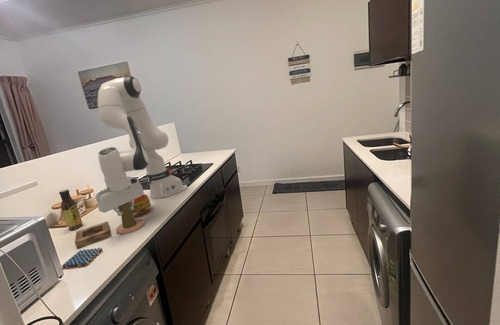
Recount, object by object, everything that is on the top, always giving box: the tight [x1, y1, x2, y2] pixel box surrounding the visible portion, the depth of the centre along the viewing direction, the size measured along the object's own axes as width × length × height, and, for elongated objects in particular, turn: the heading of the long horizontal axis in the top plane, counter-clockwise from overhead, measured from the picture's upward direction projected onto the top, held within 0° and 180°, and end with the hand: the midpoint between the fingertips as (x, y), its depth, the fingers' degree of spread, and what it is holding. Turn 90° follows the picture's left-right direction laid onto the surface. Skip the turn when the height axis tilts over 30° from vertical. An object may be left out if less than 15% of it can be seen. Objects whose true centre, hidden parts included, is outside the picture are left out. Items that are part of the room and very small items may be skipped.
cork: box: [118, 202, 137, 228], centre depth 119 cm, size 6×6×11 cm
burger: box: [129, 194, 152, 217], centre depth 136 cm, size 13×14×10 cm
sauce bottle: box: [58, 189, 83, 231], centre depth 130 cm, size 6×6×20 cm
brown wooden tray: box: [74, 221, 112, 250], centre depth 117 cm, size 13×13×3 cm
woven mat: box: [61, 247, 104, 270], centre depth 99 cm, size 10×11×2 cm
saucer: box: [116, 218, 145, 235], centre depth 121 cm, size 12×12×1 cm
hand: (126, 212), depth 119 cm, fingers open, 4 cm apart
